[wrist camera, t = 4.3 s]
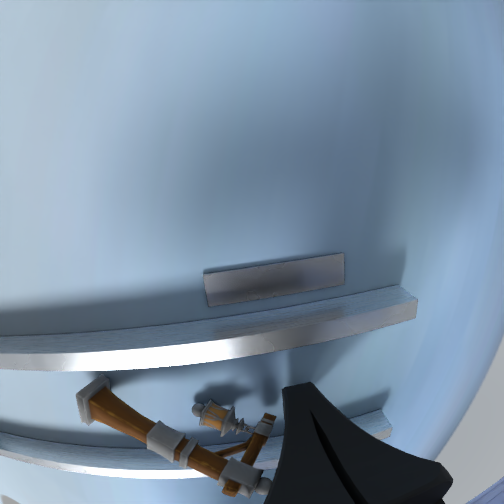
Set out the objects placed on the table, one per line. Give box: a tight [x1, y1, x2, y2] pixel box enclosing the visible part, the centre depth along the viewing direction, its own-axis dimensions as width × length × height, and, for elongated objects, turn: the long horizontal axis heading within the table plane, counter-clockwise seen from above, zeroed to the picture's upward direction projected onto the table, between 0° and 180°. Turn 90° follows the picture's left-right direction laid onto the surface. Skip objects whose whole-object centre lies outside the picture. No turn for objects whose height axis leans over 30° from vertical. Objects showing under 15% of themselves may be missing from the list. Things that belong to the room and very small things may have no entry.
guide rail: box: [0, 253, 418, 479], centre depth 10 cm, size 10×26×2 cm, turn 97°
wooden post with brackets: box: [76, 374, 276, 498], centre depth 11 cm, size 2×8×4 cm, turn 77°
